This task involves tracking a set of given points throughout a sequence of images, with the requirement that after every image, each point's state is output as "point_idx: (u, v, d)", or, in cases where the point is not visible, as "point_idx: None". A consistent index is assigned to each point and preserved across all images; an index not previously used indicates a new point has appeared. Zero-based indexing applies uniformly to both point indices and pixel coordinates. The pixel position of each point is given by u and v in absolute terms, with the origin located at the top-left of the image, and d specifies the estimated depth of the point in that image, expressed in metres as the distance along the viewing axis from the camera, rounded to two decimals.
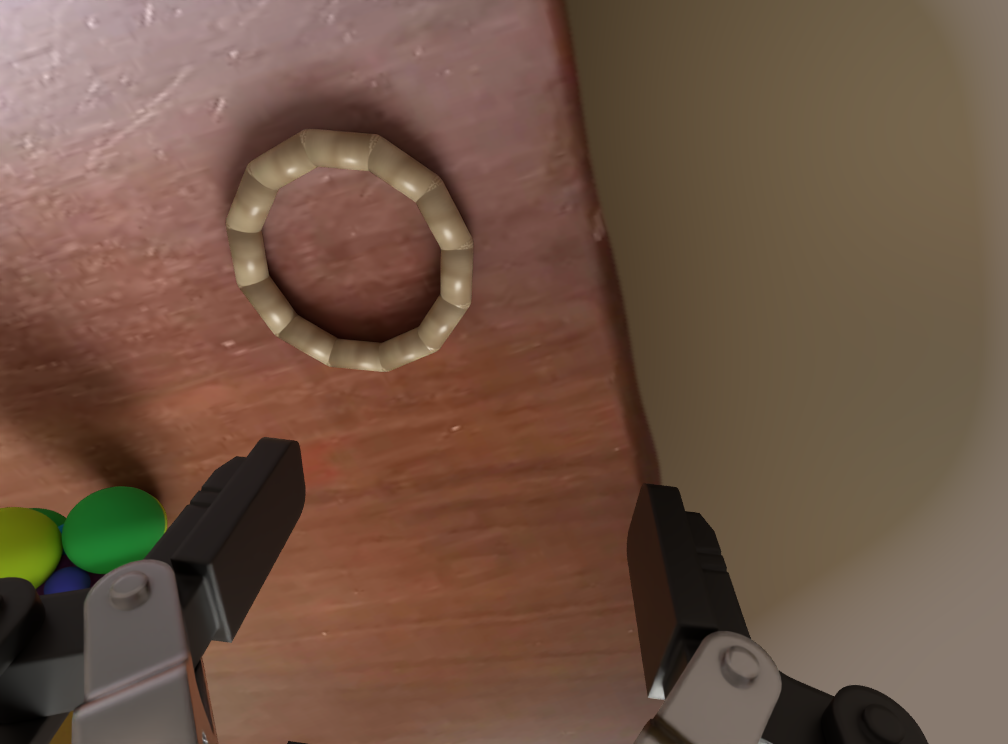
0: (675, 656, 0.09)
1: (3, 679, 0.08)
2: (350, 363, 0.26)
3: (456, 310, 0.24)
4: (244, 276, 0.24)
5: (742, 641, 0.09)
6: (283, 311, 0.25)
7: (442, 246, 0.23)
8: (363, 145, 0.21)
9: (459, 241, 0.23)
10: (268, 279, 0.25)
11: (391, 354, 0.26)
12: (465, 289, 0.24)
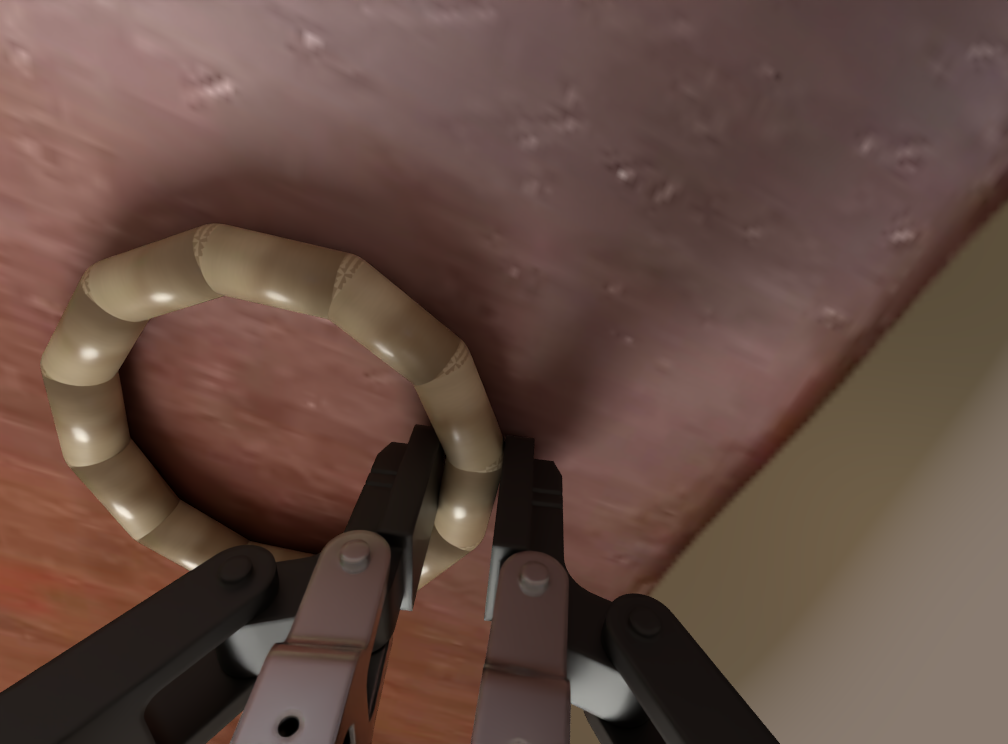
0: (498, 577, 0.10)
1: (229, 640, 0.09)
2: (175, 559, 0.15)
3: None
4: (63, 369, 0.12)
5: (544, 559, 0.10)
6: (106, 440, 0.13)
7: (439, 525, 0.14)
8: (435, 360, 0.11)
9: (469, 540, 0.14)
10: (111, 382, 0.13)
11: None
12: (427, 582, 0.15)
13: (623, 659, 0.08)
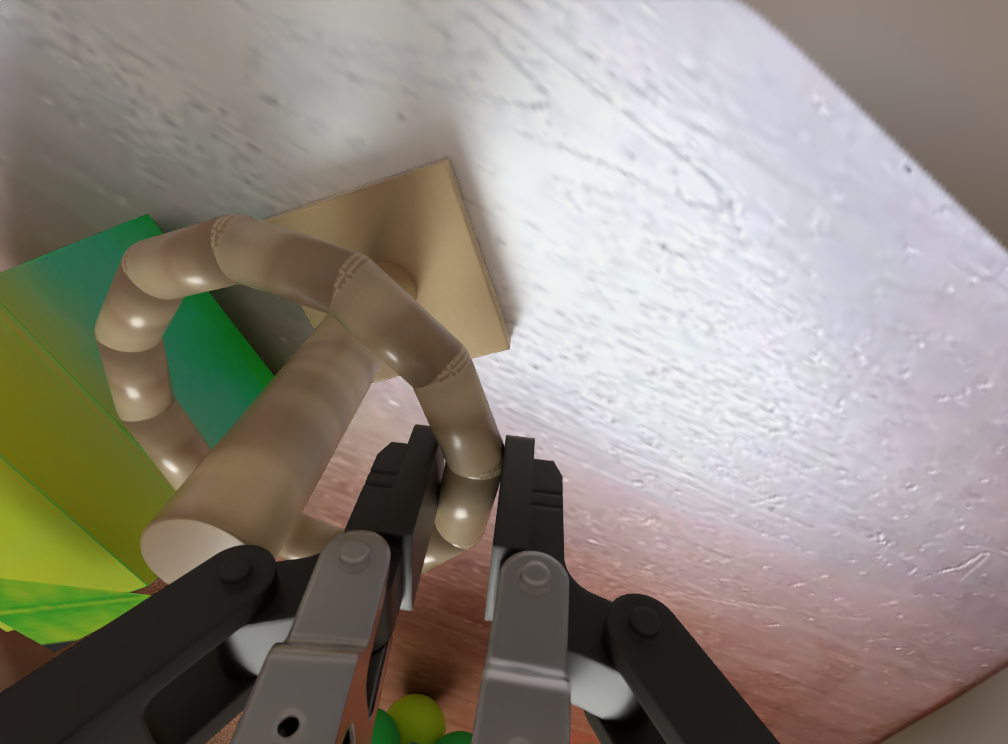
0: (498, 577, 0.10)
1: (228, 640, 0.09)
2: None
3: None
4: (110, 335, 0.13)
5: (544, 559, 0.10)
6: (149, 401, 0.15)
7: (437, 520, 0.14)
8: (430, 367, 0.11)
9: (465, 540, 0.14)
10: (154, 349, 0.14)
11: None
12: (426, 570, 0.15)
13: (623, 659, 0.08)
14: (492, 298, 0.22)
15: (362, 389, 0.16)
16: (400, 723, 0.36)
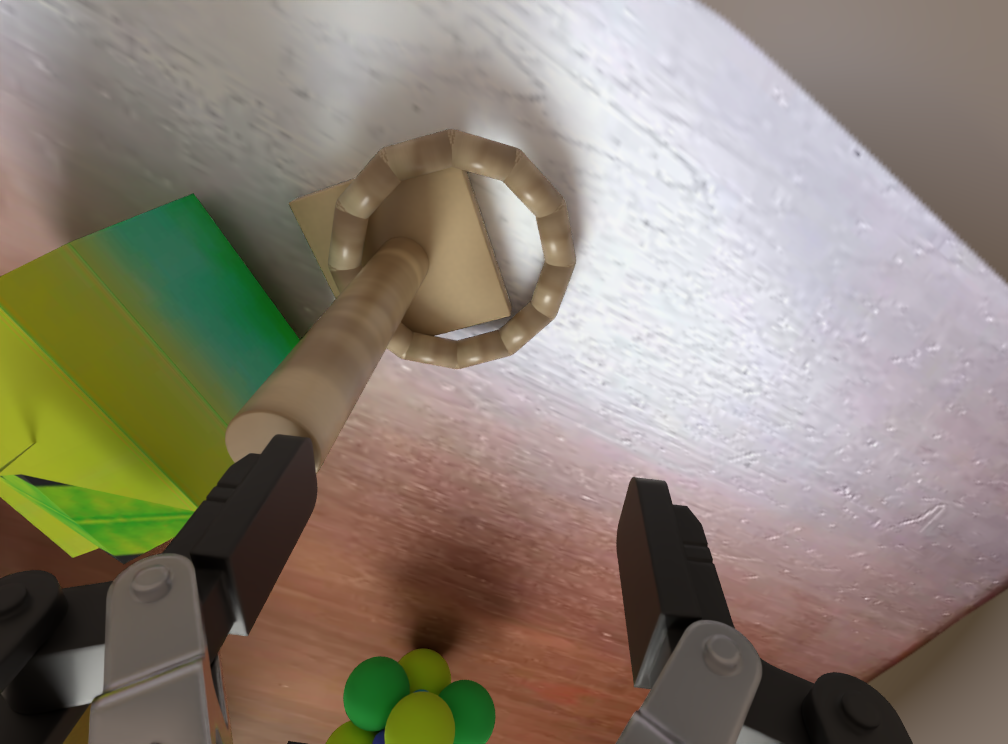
0: (660, 645, 0.10)
1: (25, 671, 0.08)
2: None
3: (504, 354, 0.27)
4: (357, 206, 0.22)
5: (725, 630, 0.09)
6: (359, 255, 0.24)
7: (536, 305, 0.26)
8: (554, 202, 0.23)
9: (553, 312, 0.26)
10: None
11: (422, 350, 0.26)
12: (523, 344, 0.27)
13: (821, 733, 0.08)
14: (495, 269, 0.25)
15: (387, 336, 0.19)
16: (409, 673, 0.39)
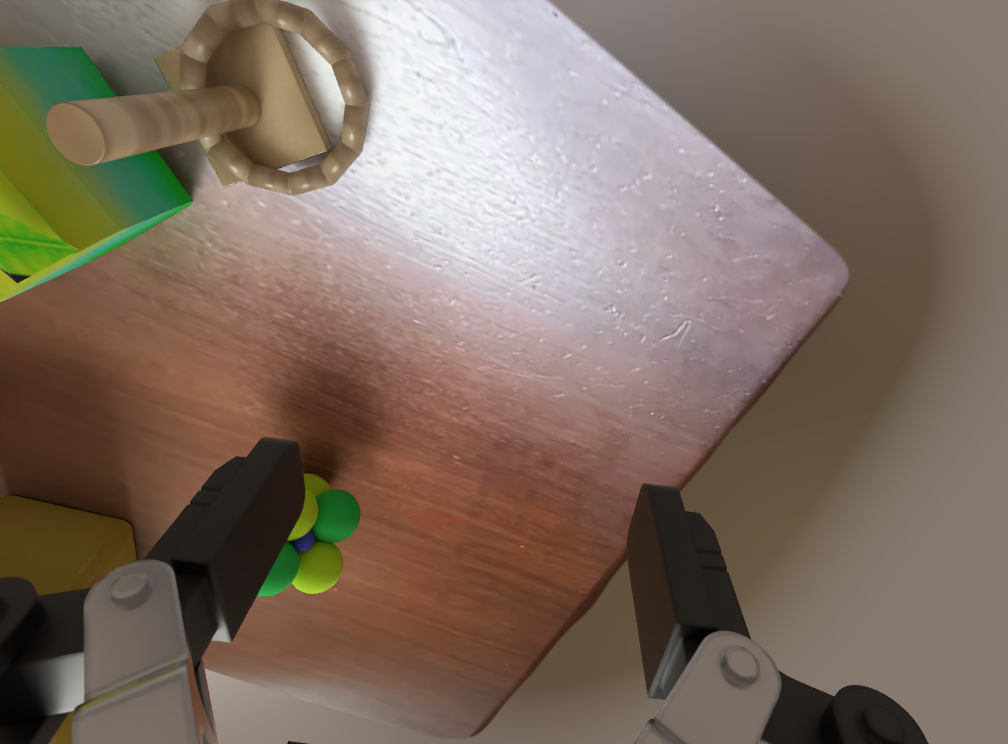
0: (675, 656, 0.09)
1: (3, 679, 0.08)
2: (225, 160, 0.34)
3: (324, 181, 0.36)
4: (193, 50, 0.31)
5: (742, 641, 0.09)
6: None
7: (343, 140, 0.35)
8: (340, 51, 0.32)
9: (355, 145, 0.35)
10: (206, 64, 0.32)
11: (260, 175, 0.35)
12: (338, 173, 0.36)
13: None
14: (310, 111, 0.34)
15: (193, 120, 0.28)
16: None
